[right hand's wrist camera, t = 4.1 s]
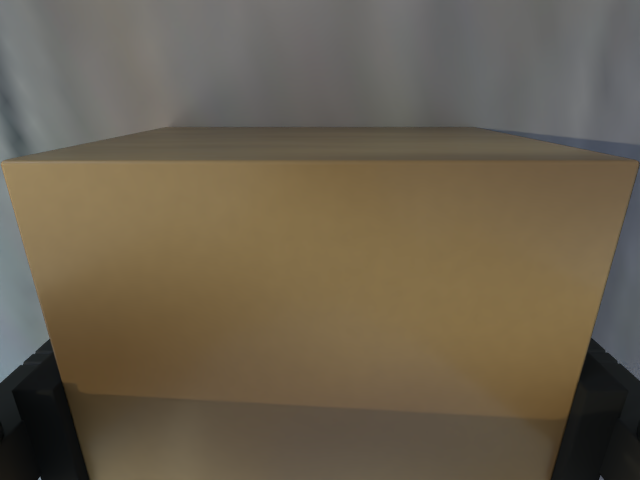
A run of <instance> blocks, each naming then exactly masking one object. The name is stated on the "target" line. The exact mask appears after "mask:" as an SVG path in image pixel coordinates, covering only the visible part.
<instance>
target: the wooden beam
mask: <svg viewBox="0 0 640 480" xmlns="http://www.w3.org/2000/svg"><path fill="white" fill-rule="evenodd" d="M1 166H2V170H3V173H4V177H5V181H6V184H7V188H8V191H9V195H10V198H11V202H12V205H13V209H14V213H15V216H16V220H17V223H18V227H19V230H20V234H21V238H22V241H23V245H24V248H25V252H26V255H27V259H28V263H29V266H30V270H31V273H32V277H33V280H34V284H35V287H36V291H37V295H38V298H39V302H40V305H41V309H42V312H43V316H44V320H45V323H46V327H47V330H48V334H49V337H50V341H51V344H52V348H53V352H54V355H55V359H56V362H57V366H58V369H59V373H60V377H61V380H62V384H63V387H64V391H65V394H66V398H67V402H68V405H69V409H70V412H71V416H72V419H73V423H74V426H75V430H76V434H77V437H78V441H79V444H80V448H81V451H82V455H83V459H84V462H85V466H86V469H87V473H88V476H89V480H551V478H552V475H553V471H554V467H555V464H556V460H557V457H558V453H559V450H560V446H561V443H562V439H563V435H564V432H565V428H566V425H567V421H568V418H569V414H570V411H571V407H572V403H573V400H574V396H575V393H576V389H577V386H578V382H579V379H580V375H581V371H582V368H583V364H584V361H585V357H586V354H587V350H588V346H589V343H590V339H591V336H592V332H593V329H594V325H595V322H596V318H597V314H598V311H599V307H600V304H601V300H602V297H603V293H604V290H605V286H606V282H607V279H608V275H609V272H610V268H611V265H612V261H613V258H614V254H615V250H616V247H617V243H618V240H619V236H620V233H621V229H622V225H623V222H624V218H625V215H626V211H627V208H628V204H629V201H630V197H631V193H632V190H633V186H634V183H635V179H636V176H637V172H638V169H639V162H638V161H637V160H634V159H629V158H624V157H619V156H614V155H609V154H604V153H599V152H594V151H589V150H584V149H579V148H574V147H570V146H565V145H560V144H555V143H550V142H545V141H540V140H535V139H530V138H525V137H520V136H515V135H510V134H505V133H501V132H496V131H491V130H486V129H481V128H476V127H165V128H160V129H155V130H150V131H145V132H140V133H135V134H130V135H125V136H120V137H115V138H111V139H106V140H101V141H96V142H91V143H86V144H81V145H76V146H71V147H66V148H61V149H56V150H51V151H47V152H42V153H37V154H32V155H27V156H22V157H17V158H12V159H7V160H4V161H2V162H1Z"/></svg>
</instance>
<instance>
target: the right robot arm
mask: <svg viewBox="0 0 640 480" xmlns="http://www.w3.org/2000/svg"><path fill="white" fill-rule="evenodd" d="M600 475H601V476H602V477H603V479H604V480H640V381H639V380H638V379H637V378H636V377H635V376H634V375H632V374H631V373H630V372H629V371H628V370H627V369H626V368H625V367H624V366H622V365H621V364H618V363H617V360H616V359H615V358H613V357H612V356H611V355H610V354H609V353H606V352H605V350H604V349H603V348H602V347H601V346H600V345H599V344H598V343H597V342H595V341H594V340H593V339H592V338H591V339H590V343H589V346H588V350H587V354H586V357H585V361H584V364H583V368H582V371H581V375H580V379H579V382H578V386H577V389H576V393H575V396H574V400H573V403H572V407H571V411H570V414H569V418H568V421H567V425H566V428H565V432H564V435H563V439H562V443H561V446H560V450H559V453H558V457H557V460H556V464H555V467H554V471H553V475H552V478H551V480H599V478H600ZM39 477H41V480H89V476H88V473H87V469H86V466H85V462H84V459H83V455H82V451H81V448H80V444H79V441H78V437H77V434H76V430H75V426H74V423H73V419H72V416H71V412H70V409H69V405H68V402H67V398H66V394H65V391H64V387H63V384H62V380H61V377H60V373H59V369H58V366H57V362H56V359H55V355H54V352H53V348H52V344H51V341H50V339H49V340H48V341H47V342H46V343H45V344H43V345H42V346H41V347H40V348H39V349H38V350H37V351H36V353H35V354H32V355H31V356H30V357H29V358H28V359H27V360H26V361H24V364H23V365H20V366H19V367H18V368H17V369H16V370H14V371H13V372H12V373H11V374H10V375H9V376H8V377H7V378H6V379H4V380H3V381H2V382H1V383H0V480H38V478H39Z"/></svg>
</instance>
